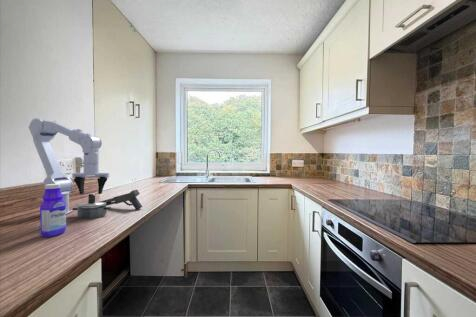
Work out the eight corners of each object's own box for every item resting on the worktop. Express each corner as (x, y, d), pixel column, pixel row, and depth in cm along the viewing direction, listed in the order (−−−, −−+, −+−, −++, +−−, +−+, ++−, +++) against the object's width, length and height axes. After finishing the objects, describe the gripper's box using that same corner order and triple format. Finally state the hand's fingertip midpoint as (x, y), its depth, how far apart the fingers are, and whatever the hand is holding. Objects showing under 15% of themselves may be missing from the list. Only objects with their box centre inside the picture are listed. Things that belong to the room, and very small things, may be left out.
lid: (71, 209, 101) (71, 195, 102) (81, 206, 112) (82, 193, 113) (101, 208, 104) (102, 194, 104) (109, 206, 115) (109, 193, 116)
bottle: (50, 238, 80) (49, 185, 79) (36, 237, 81) (35, 185, 81) (69, 231, 87) (69, 183, 87) (56, 230, 88) (56, 182, 88)
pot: (66, 219, 102) (66, 209, 102) (79, 213, 113) (79, 204, 113) (105, 218, 105) (105, 209, 105) (114, 212, 115) (114, 203, 115)
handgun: (139, 209, 120) (134, 190, 120) (98, 219, 124) (93, 200, 124) (144, 207, 123) (139, 188, 124) (103, 217, 128) (99, 199, 128)
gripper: (68, 163, 103) (68, 195, 103) (105, 163, 105) (104, 195, 106) (76, 162, 110) (76, 192, 110) (111, 163, 112) (110, 192, 113)
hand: (91, 193), depth 108 cm, fingers open, 7 cm apart
